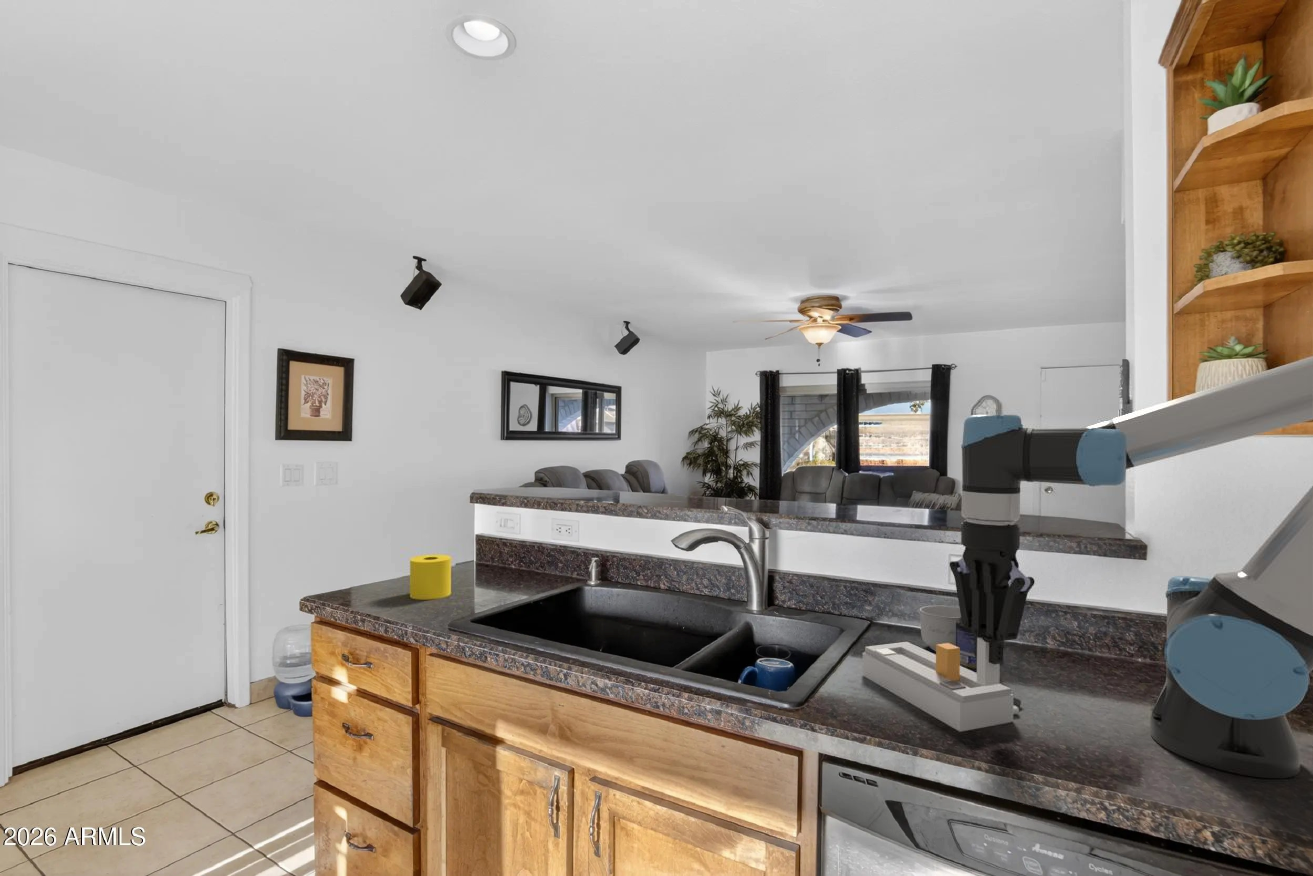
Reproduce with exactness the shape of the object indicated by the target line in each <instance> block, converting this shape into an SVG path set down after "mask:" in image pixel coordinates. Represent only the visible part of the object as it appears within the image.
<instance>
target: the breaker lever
mask: <svg viewBox="0 0 1313 876" xmlns="http://www.w3.org/2000/svg"><path fill="white" fill-rule="evenodd" d="M935 655H936V673H938V674H940V675H942V676H944V677H946V678H948V679H950V680H952V681H955V680H960V648H959V647H957V646H954V645H952V644H949V643H944V644H936V651H935Z"/></svg>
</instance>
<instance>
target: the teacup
mask: <svg viewBox="0 0 1313 876" xmlns="http://www.w3.org/2000/svg"><path fill="white" fill-rule="evenodd" d="M919 613H920V615H919V616H920V617H919V618H920V619H919V620H920V622H919V623H920V633H921V634H920V635H921V639H922V640H923V642H924V643H925V644H926V645H928V646H929V647H930V649H931V650H933V652H934V651H935V652H936V644H944V643H949V644H952V645H954V646H956V621H957V619H959V618H961V613H960V607H958V606H951V605H940V604H939V605H927V606H922V607H920V608H919Z"/></svg>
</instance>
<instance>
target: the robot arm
mask: <svg viewBox="0 0 1313 876" xmlns="http://www.w3.org/2000/svg"><path fill="white" fill-rule="evenodd" d="M1312 420H1313V355H1312V356H1309V357H1305V358H1302V359H1299V360H1295V361H1293V362H1289V363H1287V364H1284V365H1280V366H1277V367H1274V368H1271V369H1268V370H1265V371H1260V372H1258V373H1255V374H1251V375H1249V376H1245V377H1242V378H1238V379H1236V380H1232V381H1229V382H1225V383H1223V384H1222V383H1221V384H1219V385H1217V386H1213V387H1210V388H1207V389H1203V390H1201V391H1198V392H1194V393H1190V394H1187V395H1184V396H1182V397H1179V398H1174V399H1171V400H1169V401H1166V402H1162V403H1158V404H1156V405H1152V406H1150V407H1146V408H1143V409H1140V410H1136V411H1133V412H1130V413H1126V414H1123V415H1121V416H1117V417H1114V418H1112V419H1109V420H1105V421H1101V422H1097V423H1095V424H1091V425H1088V426H1085V427H1082V428H1036V429H1035V428H1029V427H1024V425H1023V424H1022V419H1021V416H1020V415H1017V414H974V415H973V414H972V415H969V416H967V418H966V419H965V420H964V422H963V434H962V444H961V458H962V460H961V465H962V467H961V469H962V472H961V473H962V475H961V477H962V480H961V482H962V484H961V511H960V512H961V513H960V514H961V517H962V518H963V519H965V520H963V521H962V522H961V524H960V525H961V530H960V531H961V533H960V534H961V535H960V537H961V539H960V544H961V545H963V547H965V548H964V550H963V553H962V558H960V559H958V560H952V561H950V562H949V569H950V570H951V573H952V575H953V578H954V582H955V588H956V594H957V601H958V606H959V607H960V613H961V619H962V625H963V627H964V628H969V629H970V630H971V631H972V634H973V635H974V654H975V657H977V672H976V673H977V683H979V684H981V685H984V686H989V685H996V684H999V683H1000V681H1001V680H1000V679H1001V678H1000V674H1001V672H1000V669H1001V668H1000V665H1001V664H1003V662H1004V643H1005V642H1006V641H1007V642H1008V641H1013V640H1017V638H1018V636H1019V631H1020V627H1021V622H1022V618H1023V614H1024V611H1025V606H1026V601H1027V597H1028V593H1029V592H1030V591H1031V589H1032V587H1033V586H1034V585H1035V582H1036V581H1035V579H1034V578H1033V577H1032V576H1026V575H1025V574H1024V573H1023V572H1022V571H1021V570H1020V569H1019V568H1020V566H1019V565H1020V564H1019V561H1018V560H1017V556H1016V555H1017V553H1018V550H1019V549H1020V544H1021V543H1020V542H1021V540H1020V538H1021V527H1020V525H1019V524H1018V523H1016V522H1017V521H1019V520H1020V519H1021V518H1020V517H1021V482H1027V483H1048V484H1062V485H1065V484H1067V485H1084V486H1085V485H1086V486H1090V487H1100V486H1119V485H1122V484H1123V483H1124V482H1125V480H1126V472H1127V470H1128V469H1129V470H1130V469H1133V468H1137V467H1139V466H1143V465H1146V464H1151V463H1153V462H1154V463H1155V462H1157V461H1162V460H1165V459H1169V458H1173V457H1176V456H1181V455H1184V454H1188V453H1191V452H1196V451H1199V450H1204V449H1208V448H1210V447H1211V448H1212V447H1215V446H1219V445H1221V444H1222V445H1223V444H1225V443H1230V442H1233V441H1237V440H1240V439H1245V438H1249V437H1252V436H1256V435H1259V434H1263V433H1268V432H1271V431H1276V430H1278V429H1282V428H1286V427H1287V428H1288V427H1290V426H1294V425H1298V424H1301V423H1305V422H1306V423H1307V422H1309V421H1312ZM1165 598H1166V642H1165V645H1164V657H1165V661H1166V665H1165V666H1166V672H1165V675H1166V676H1165V678H1166V679H1165V683H1164V685H1163V687H1162V689H1161V691H1160V694H1159V696H1158V699H1157V700H1156V703H1155V704H1154V707H1153V709H1152V711H1151V713H1150V715H1149V717H1150V718H1149V734H1150V736H1151V738H1152V739H1154V741H1156V743H1158V744H1159V745H1160V746H1162V747H1164V749H1165V748H1166V749H1167V750H1169V751H1171V752H1172V753H1174V754H1176V755H1178V756H1181V757H1183V758H1185V759H1188V760H1191V761H1192V762H1195V763H1198V764H1201V765H1202V766H1203V765H1204V766H1206V767H1210V768H1212V769H1213V768H1214V769H1216V770H1221V771H1224V772H1227V773H1228V772H1229V773H1233V774H1238V775H1243V776H1249V777H1255V778H1262V779H1286V778H1287V779H1288V778H1291V777H1294V776H1296V775H1298V774H1299V773H1300V771H1301V752H1300V749H1299V746H1298V744H1297V742H1296V738H1295V736H1294V734H1293V732H1292V729H1291V726H1290V723H1289V721H1288V719H1287V716H1286V714H1287V713H1289V712H1291V711H1293V710H1294V709H1296V707H1298V705H1300V703H1301V702H1302V701H1303V699H1304V697H1305V696H1306V693H1307V692H1308V690H1309V687H1308V686H1309V685H1310V673H1311V672H1312V671H1313V485H1312V486H1311V487H1310V488H1309V490H1308V491H1306V493H1305V494H1304V495H1303V497H1301V498H1300V500H1299V501H1298V502H1297V504H1296V505H1295V506H1294V507H1293V508H1292V510H1291V511H1289V513H1288V514H1287V515H1286V517H1285V518H1284V519H1283V520H1282V521H1281V522H1280V523H1279V525H1278V526H1276V528H1275V529H1274V531H1273V532H1272V533H1271V534H1270V535H1269V537H1268V538H1267V539H1266V540H1265V541H1264V542H1263V544H1262V545H1261V546H1260V547H1259V548H1258V549H1257V550H1256V552H1255V553H1254V554H1253V555H1252V556H1251V558H1250V559H1249V560H1248V561H1247V562H1246V563H1245V565H1244V566H1243V567H1242V569H1240V570H1237V571H1231V572H1230V571H1229V572H1221V573H1216V574H1215V575H1214V576H1213V577H1212V578H1208V577H1200V576H1199V577H1198V576H1197V577H1196V576H1186V575H1176V576H1175V575H1174V576H1172V577H1171V578H1169V580H1168V583H1167V590H1166V592H1165ZM970 618H971V619H970Z"/></svg>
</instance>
